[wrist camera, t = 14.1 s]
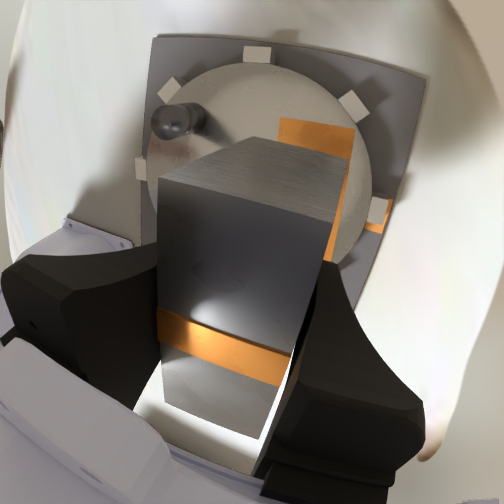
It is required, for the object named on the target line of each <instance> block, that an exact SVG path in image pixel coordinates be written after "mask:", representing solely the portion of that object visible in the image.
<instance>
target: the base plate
mask: <svg viewBox="0 0 504 504" xmlns="http://www.w3.org/2000/svg"><path fill="white" fill-rule="evenodd" d="M244 46H256V47H272V48H274V49H276V50H277V51H276V63H275V66H279V67H283V68H286V69H290V70H292V71H295V72H297V73H299V74H302V75H304V76H306V77H308V78H310V79H312V80H313V81H315V82H316V83H318V84H320V85H321V86H323V87H324V88H325V89H326V90H328V91H329V92H330V93H331V94H332V95H333V96H335V97H336V98H337V99H339V98H341V97H342V96H344V95H345V94H347V93H348V92H349V91H351V90H353V92H354V93H355V94H356V95H357V97H358V98H359V99H360V101H361V102H362V103H363V105H364V106H365V107H366V109H367V110H368V111H369V113H370V114H368V115H367V116H366V117H364V118H363V119H361V120H360V121H358V122H357V123H356V124H357V126H358V128H359V130H360V133H361V135H362V137H363V139H364V142H365V145H366V148H367V152H368V155H369V161H370V167H371V175H372V191H375V192H380V193H384V194H387V195H388V199H389V201H388V206H387V210H386V214H385V218H384V222H383V226H382V225H378V224H374V223H370V222H367V219H366V222H365V225H364V227H363V229H362V231H361V234H360V236H359V238H358V239H357V241H356V242H355V244H354V245H353V247H352V248H351V250H350V251H349V252H348V253H347V255H346V256H345V257H344V258H343V259H342V260H341V261H340V262H339V263H338V266H339V267H340V272H341V277H342V280H343V284H344V287H345V290H346V293H347V296H348V298H349V301H350V304H351V306H352V309H354V306H355V304H356V302H357V299H358V297H359V295H360V292H361V290H362V287H363V285H364V282H365V280H366V277H367V275H368V272H369V270H370V267H371V265H372V262H373V259H374V257H375V254H376V252H377V249H378V246H379V243H380V241H381V238H382V235H383V232H384V229H385V227H386V224H387V221H388V218H389V215H390V212H391V209H392V206H393V203H394V200H395V197H396V194H397V191H398V187H399V184H400V181H401V178H402V174H403V171H404V167H405V164H406V161H407V157H408V153H409V150H410V146H411V142H412V139H413V135H414V131H415V127H416V123H417V119H418V115H419V111H420V106H421V102H422V97H423V93H424V88H425V83H426V80H425V79H422V78H419V77H417V76H414V75H411V74H408V73H405V72H402V71H398V70H395V69H392V68H389V67H385V66H382V65H378V64H375V63H371V62H368V61H364V60H360V59H356V58H352V57H348V56H343V55H339V54H334V53H330V52H325V51H320V50H315V49H309V48H304V47H298V46H291V45H285V44H277V43H270V42H261V41H252V40H241V39H227V38H207V37H156V38H153V41H152V48H151V55H150V63H149V72H148V81H147V91H146V102H145V114H144V128H143V146H142V155H147V151H148V144H149V140H150V137H151V133H152V127H151V118H152V115H153V113H154V111H155V110H156V109H157V108H158V107H160V106H163V105H166V103H165V102H164V101H163V100H162V99H161V97H160V96H159V95H158V94H157V93H158V92H159V91H160V90H161V89H162V87H163V86H164V85H165V84H166V83H167V82H168V81H169V80H170V79H171V78H172V77H183V78H184V80H185V81H186V82H187V83H188V82H190V81H191V80H193V79H194V78H196V77H198V76H200V75H201V74H203V73H206V72H208V71H210V70H213V69H216V68H219V67H222V66H226V65H231V64H237V63H244V62H243V52H244ZM154 242H157V214H156V212H155V210H154V207H153V204H152V201H151V198H150V193H149V189H148V184H147V181H144V180H141V246H143V245H147V244H150V243H154Z"/></svg>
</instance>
